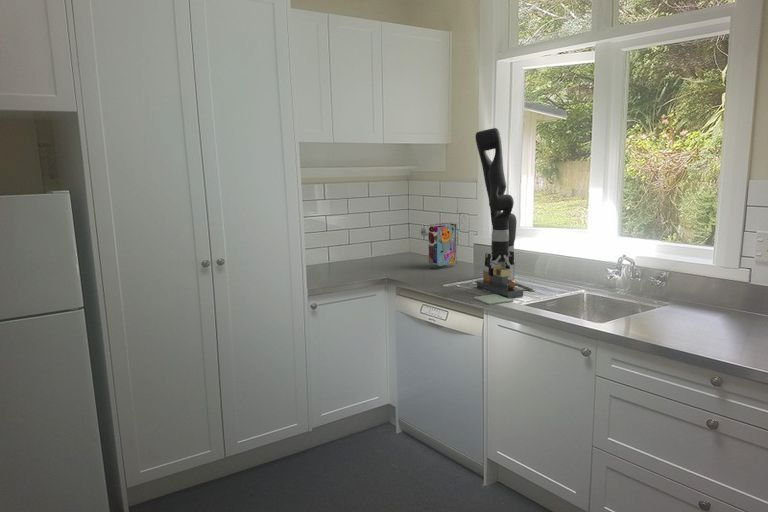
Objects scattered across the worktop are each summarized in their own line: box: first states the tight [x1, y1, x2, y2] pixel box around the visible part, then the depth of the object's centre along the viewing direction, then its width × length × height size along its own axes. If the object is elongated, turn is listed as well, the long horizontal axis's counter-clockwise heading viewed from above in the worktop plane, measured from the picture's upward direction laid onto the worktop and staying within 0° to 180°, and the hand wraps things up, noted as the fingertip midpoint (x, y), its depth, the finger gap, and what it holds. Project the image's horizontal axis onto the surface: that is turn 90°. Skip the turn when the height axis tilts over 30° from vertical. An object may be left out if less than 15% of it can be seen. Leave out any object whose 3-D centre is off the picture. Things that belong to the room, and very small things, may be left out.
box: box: [420, 222, 458, 270], centre depth 304 cm, size 25×6×24 cm, turn 129°
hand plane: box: [476, 269, 524, 299], centre depth 251 cm, size 8×24×8 cm, turn 24°
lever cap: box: [493, 264, 510, 277], centre depth 250 cm, size 5×9×4 cm, turn 24°
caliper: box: [507, 278, 536, 292], centre depth 258 cm, size 20×1×6 cm, turn 47°
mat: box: [472, 293, 514, 306], centre depth 237 cm, size 12×12×1 cm
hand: (499, 275), depth 250 cm, fingers open, 8 cm apart
